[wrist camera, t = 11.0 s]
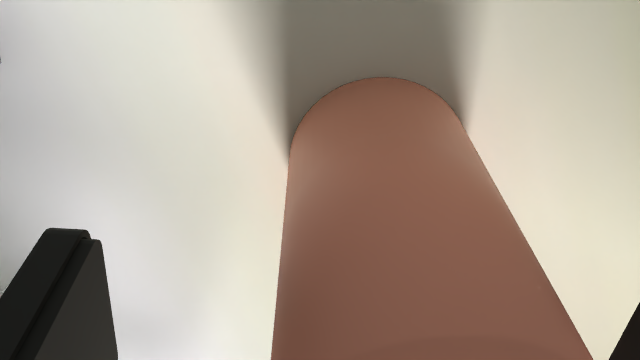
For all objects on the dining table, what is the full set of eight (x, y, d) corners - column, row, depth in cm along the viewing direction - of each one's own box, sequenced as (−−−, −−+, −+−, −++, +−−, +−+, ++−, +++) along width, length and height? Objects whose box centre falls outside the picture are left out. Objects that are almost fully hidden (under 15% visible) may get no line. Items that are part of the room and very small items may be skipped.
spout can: (485, 85, 14) (729, 404, 6) (440, 262, 17) (560, 645, 9) (295, 69, 14) (265, 378, 6) (282, 251, 17) (249, 635, 9)
